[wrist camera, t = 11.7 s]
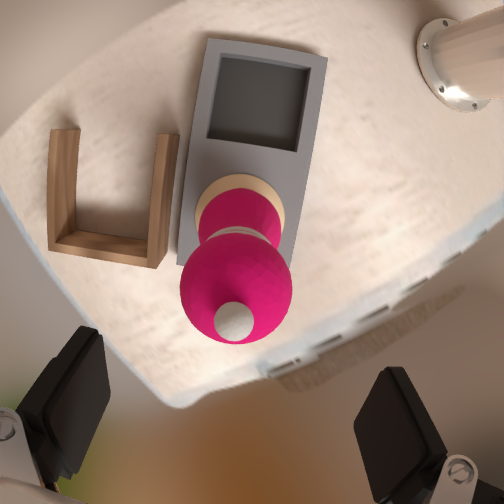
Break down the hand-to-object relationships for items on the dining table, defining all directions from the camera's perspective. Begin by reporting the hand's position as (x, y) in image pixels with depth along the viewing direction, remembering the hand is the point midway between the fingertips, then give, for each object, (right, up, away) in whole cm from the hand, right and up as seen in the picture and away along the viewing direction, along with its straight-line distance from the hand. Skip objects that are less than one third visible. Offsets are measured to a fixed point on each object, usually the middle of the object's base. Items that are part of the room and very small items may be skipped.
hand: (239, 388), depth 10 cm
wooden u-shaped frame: (-14, +11, +23) cm, 30 cm away
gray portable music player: (0, +14, +23) cm, 27 cm away
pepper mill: (-1, +8, +23) cm, 24 cm away
